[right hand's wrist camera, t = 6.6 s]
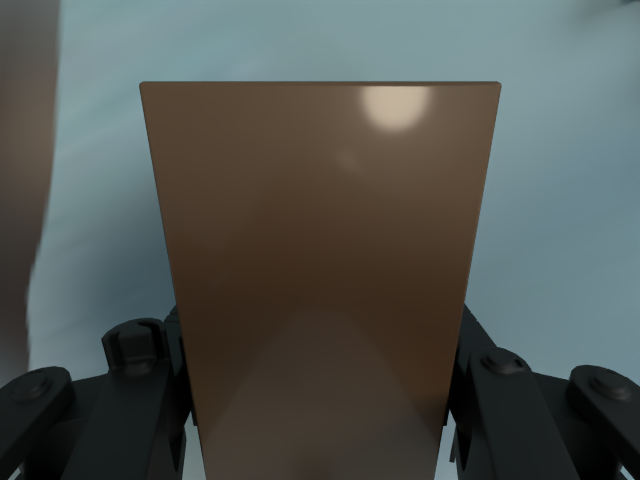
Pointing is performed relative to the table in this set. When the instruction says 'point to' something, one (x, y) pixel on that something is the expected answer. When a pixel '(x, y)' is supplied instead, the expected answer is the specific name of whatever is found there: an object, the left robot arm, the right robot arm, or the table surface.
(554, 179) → the table surface
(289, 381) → the bar
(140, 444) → the right robot arm
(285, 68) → the table surface
